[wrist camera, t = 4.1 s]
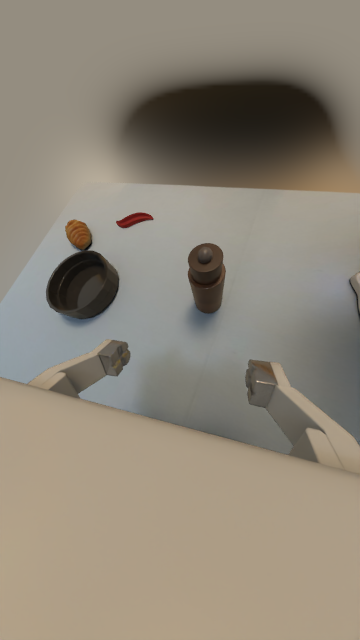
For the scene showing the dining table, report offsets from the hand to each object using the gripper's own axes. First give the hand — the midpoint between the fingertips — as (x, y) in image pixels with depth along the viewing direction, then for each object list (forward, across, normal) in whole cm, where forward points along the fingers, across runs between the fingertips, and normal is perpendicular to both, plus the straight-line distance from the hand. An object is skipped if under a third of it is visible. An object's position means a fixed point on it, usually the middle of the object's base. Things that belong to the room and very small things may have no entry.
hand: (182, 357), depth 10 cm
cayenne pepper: (+38, +23, -12) cm, 46 cm away
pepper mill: (+21, 0, +4) cm, 22 cm away
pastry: (+35, +39, -9) cm, 53 cm away
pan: (+22, +30, +3) cm, 38 cm away
